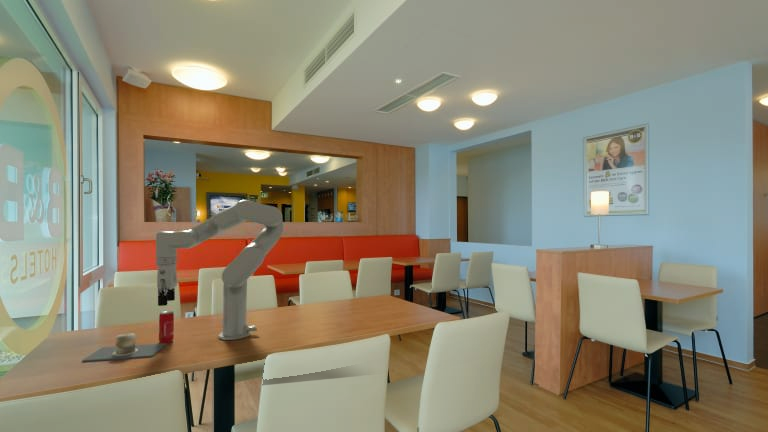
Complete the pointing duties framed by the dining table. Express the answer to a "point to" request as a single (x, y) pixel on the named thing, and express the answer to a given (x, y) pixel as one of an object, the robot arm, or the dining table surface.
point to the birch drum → (125, 343)
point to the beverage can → (166, 327)
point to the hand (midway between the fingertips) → (166, 302)
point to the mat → (110, 354)
